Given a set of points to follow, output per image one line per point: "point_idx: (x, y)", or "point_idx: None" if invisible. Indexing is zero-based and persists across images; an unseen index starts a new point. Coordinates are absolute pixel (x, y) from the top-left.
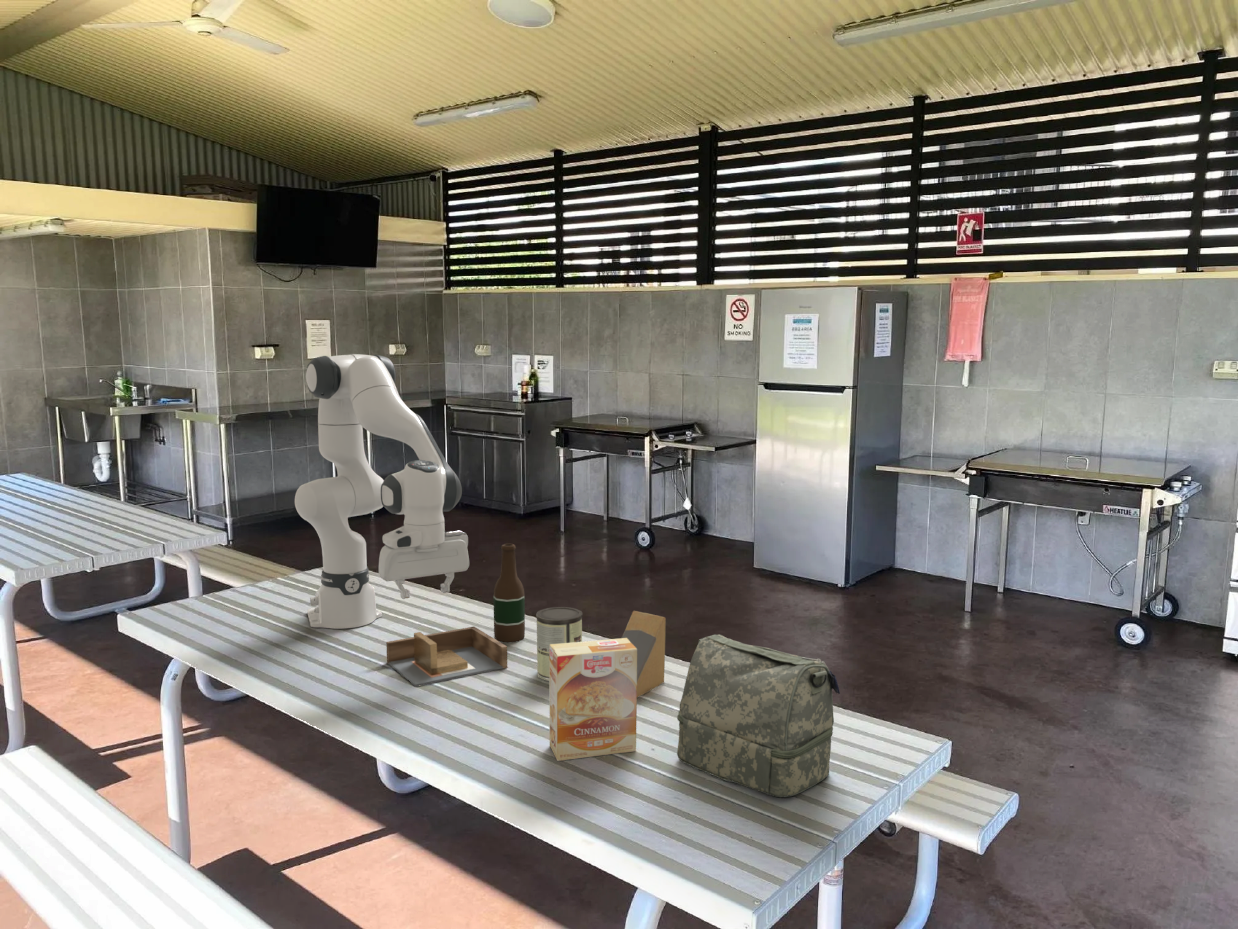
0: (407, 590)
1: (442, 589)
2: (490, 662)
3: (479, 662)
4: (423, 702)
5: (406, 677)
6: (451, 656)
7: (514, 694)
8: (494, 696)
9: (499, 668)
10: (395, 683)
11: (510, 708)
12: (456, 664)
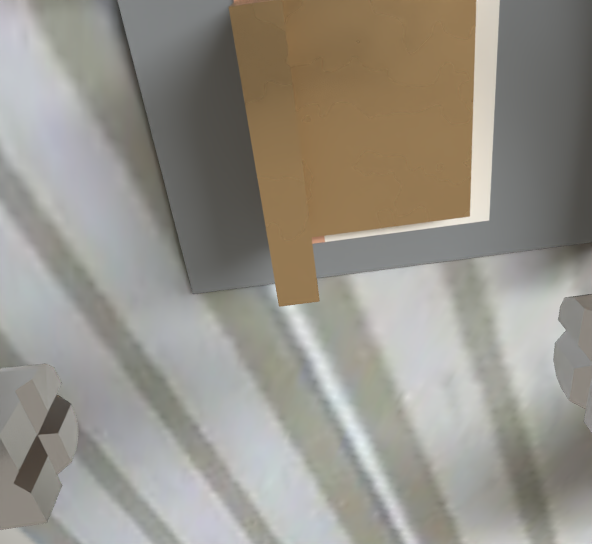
0: (15, 509)
1: (584, 353)
2: (589, 169)
3: (546, 146)
4: (198, 423)
5: (168, 196)
6: (433, 102)
7: (489, 459)
8: (427, 453)
9: (584, 240)
10: (116, 219)
11: (427, 530)
12: (409, 224)
